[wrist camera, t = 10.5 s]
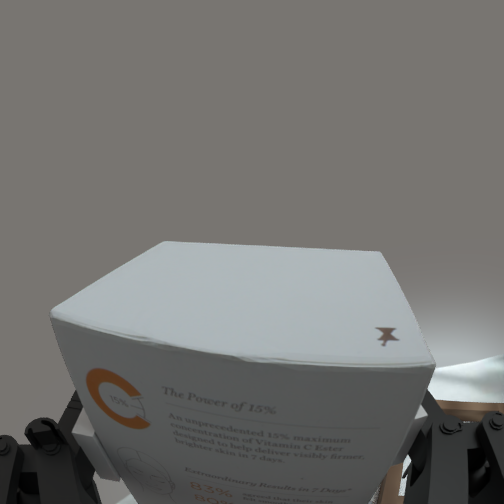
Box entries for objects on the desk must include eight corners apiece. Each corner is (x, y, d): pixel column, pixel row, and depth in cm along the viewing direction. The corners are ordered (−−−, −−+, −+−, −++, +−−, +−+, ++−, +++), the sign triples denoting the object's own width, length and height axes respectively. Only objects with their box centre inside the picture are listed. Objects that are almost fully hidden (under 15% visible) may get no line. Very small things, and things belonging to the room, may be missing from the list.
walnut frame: (500, 414, 26) (506, 403, 26) (512, 512, 12) (522, 503, 12) (394, 406, 33) (398, 395, 32) (373, 515, 19) (380, 506, 18)
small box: (334, 470, 14) (386, 248, 10) (324, 565, 8) (449, 363, 4) (196, 451, 16) (162, 236, 12) (156, 534, 10) (38, 311, 6)
